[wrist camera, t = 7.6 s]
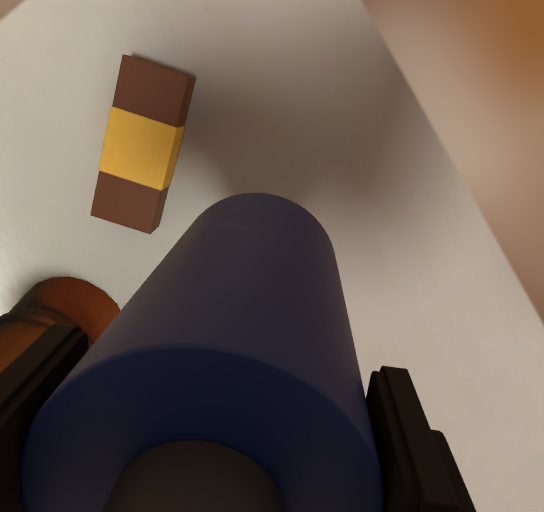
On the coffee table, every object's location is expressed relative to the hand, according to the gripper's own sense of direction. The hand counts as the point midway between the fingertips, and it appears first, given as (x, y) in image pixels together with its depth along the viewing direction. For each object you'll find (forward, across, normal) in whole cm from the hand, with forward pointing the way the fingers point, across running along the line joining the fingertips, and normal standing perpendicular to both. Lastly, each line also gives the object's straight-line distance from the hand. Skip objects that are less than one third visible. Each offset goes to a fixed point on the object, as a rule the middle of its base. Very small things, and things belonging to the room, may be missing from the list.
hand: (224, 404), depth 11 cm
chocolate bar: (+22, +9, -3) cm, 24 cm away
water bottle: (+9, 0, 0) cm, 9 cm away
